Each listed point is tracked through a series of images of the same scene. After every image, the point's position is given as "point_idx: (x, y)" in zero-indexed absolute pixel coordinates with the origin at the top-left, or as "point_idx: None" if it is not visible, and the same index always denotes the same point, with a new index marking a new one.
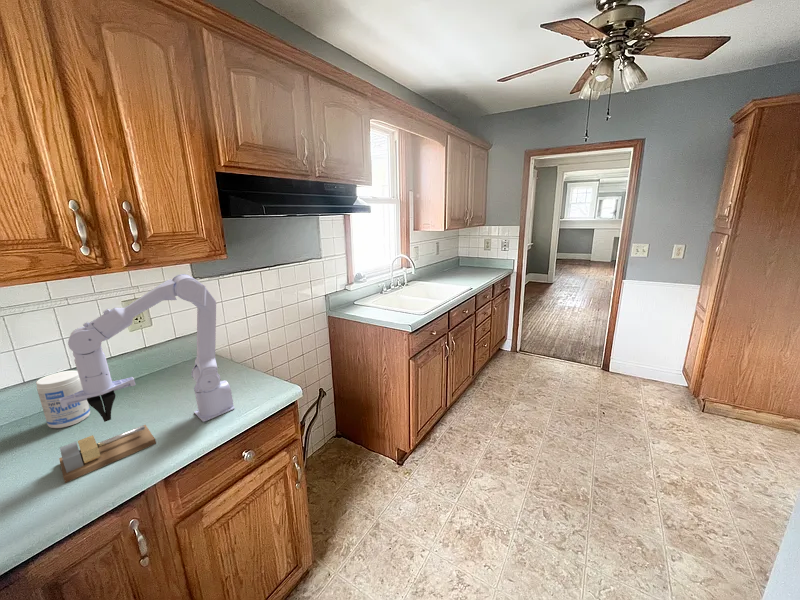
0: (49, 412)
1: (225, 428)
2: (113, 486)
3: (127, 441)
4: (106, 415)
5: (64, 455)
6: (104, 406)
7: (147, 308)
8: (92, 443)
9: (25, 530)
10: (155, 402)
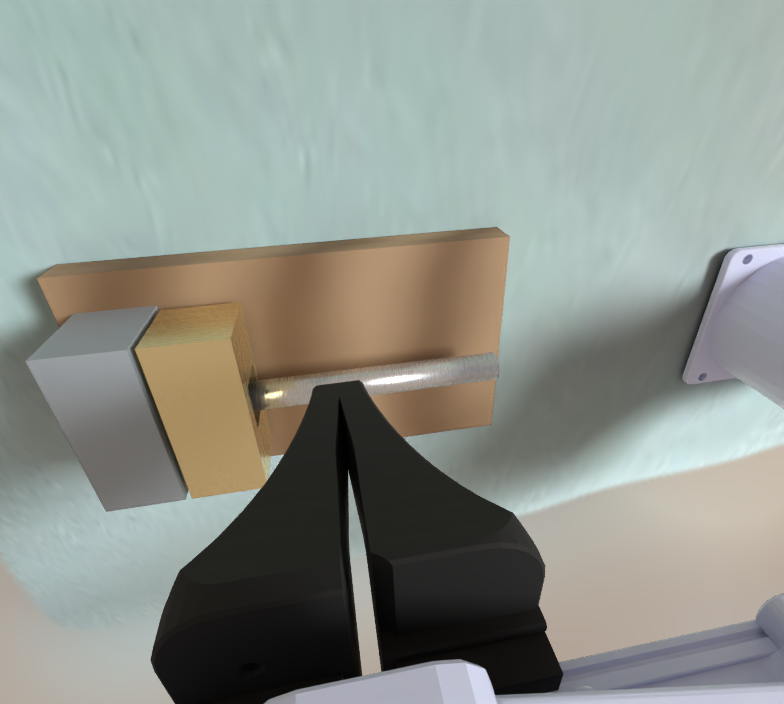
0: None
1: (684, 469)
2: None
3: (391, 362)
4: (347, 454)
5: (98, 470)
6: (357, 477)
7: None
8: (237, 439)
9: (84, 601)
10: None
